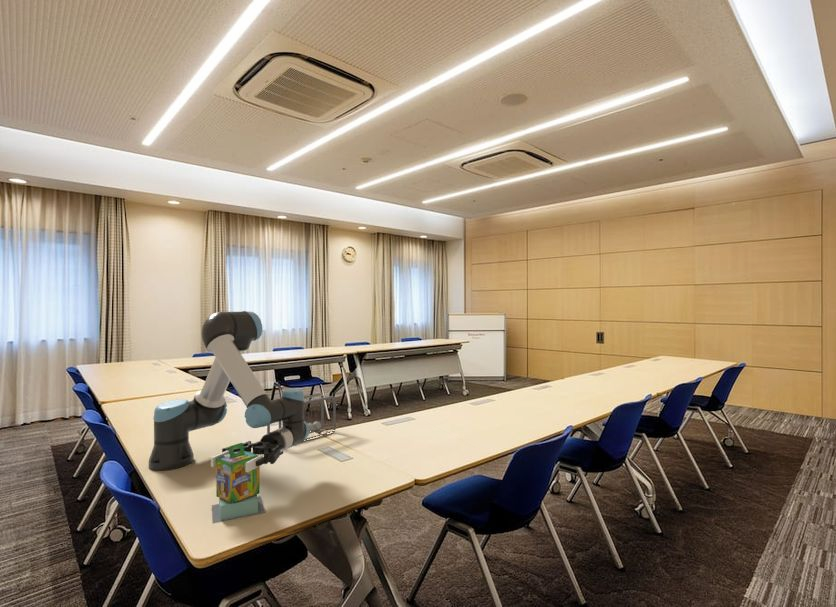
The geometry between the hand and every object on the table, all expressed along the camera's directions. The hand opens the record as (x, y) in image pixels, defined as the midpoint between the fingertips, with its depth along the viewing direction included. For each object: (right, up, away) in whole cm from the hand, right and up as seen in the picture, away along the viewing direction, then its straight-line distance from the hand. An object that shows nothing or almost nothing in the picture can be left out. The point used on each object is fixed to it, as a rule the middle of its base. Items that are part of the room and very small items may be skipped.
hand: (228, 464), depth 126 cm
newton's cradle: (+2, -15, +74) cm, 75 cm away
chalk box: (+1, -11, +4) cm, 11 cm away
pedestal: (+1, -14, +4) cm, 15 cm away
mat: (+1, -15, +4) cm, 15 cm away
